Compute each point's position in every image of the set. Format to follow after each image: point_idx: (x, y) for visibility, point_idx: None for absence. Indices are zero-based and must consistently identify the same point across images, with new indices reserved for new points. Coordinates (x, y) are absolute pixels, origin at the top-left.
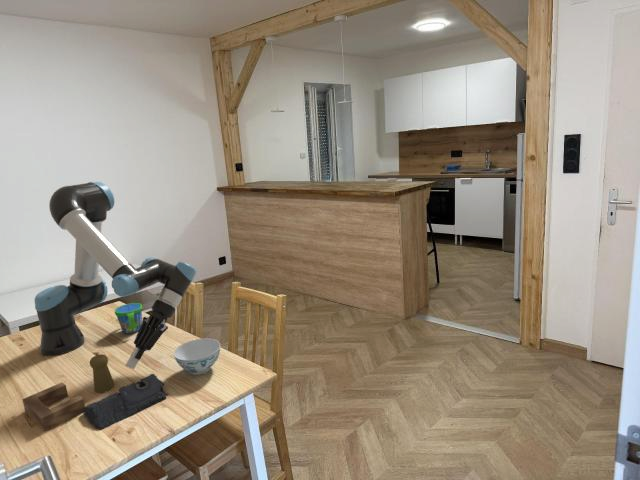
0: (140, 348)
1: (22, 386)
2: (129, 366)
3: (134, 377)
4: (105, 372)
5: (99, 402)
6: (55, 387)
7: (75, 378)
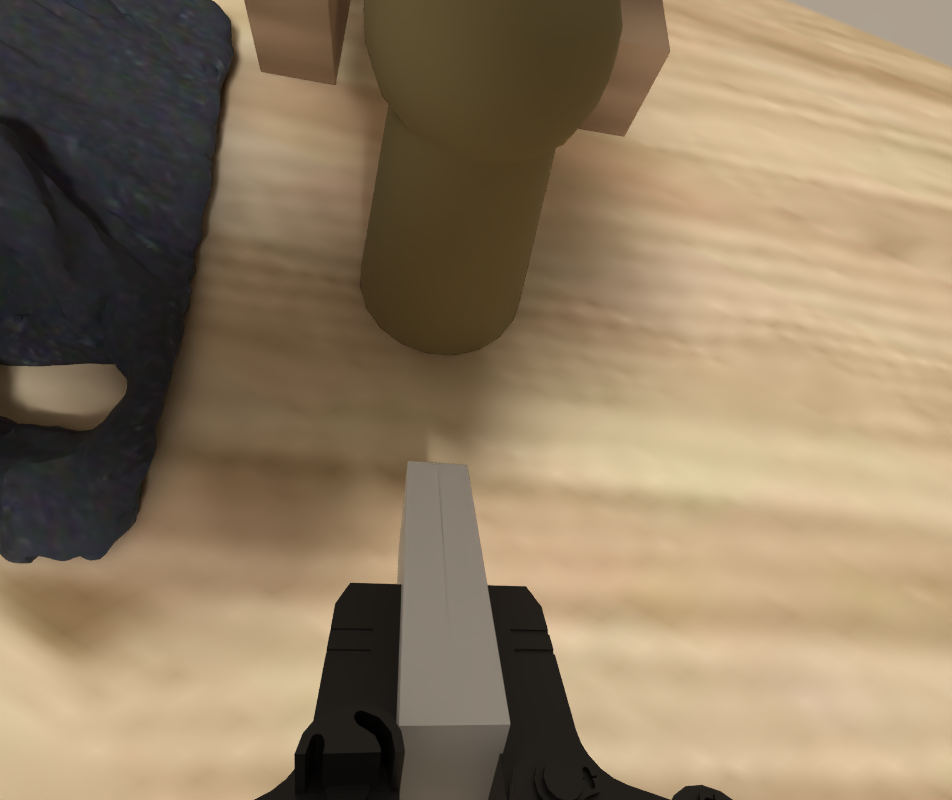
0: (316, 757)
1: (909, 100)
2: (405, 490)
3: (351, 518)
4: (381, 156)
5: (108, 34)
6: (626, 1)
7: (783, 264)
